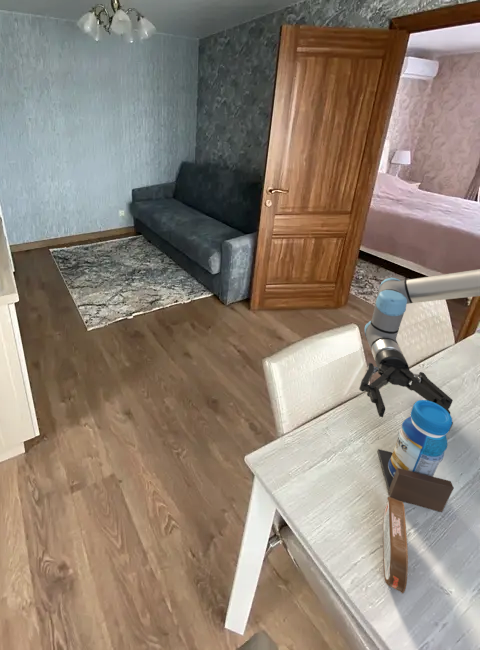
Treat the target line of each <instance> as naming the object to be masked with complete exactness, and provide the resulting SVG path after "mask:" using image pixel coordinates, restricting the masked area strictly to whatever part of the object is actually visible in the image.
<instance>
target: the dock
mask: <svg viewBox="0 0 480 650" xmlns="http://www.w3.org/2000/svg"><path fill="white" fill-rule="evenodd" d="M376 453H377V456H378V460H379V463H380V467H381V471H382V475H383V478H384V482H385V486H386V490H387V493H388V497H391V498H394V499H396V500H399V501H402V502H403V503H406V504H409V505H412V506H413V505H414V506H417V507H421V508H424V509H427V510H430V511H431V510H432V511H435V512H439V513H443V511H444V509H445V508H446V505H447V503H448V501H449V498H450V496H451V495H452V493H453V491H454V486H453V483H452V481H451V480H447V479H444V478H440V477H436V476H433V477H432V476H428V475H424V474H420V473H416V472H412V471H408V470H404V469H400V468H397V469H396V472H395V475H394V477H392V475H391V473H390V471H389V468H388V463H389V460H390V458H391V456H392V453H393V451H387V450H383V449H379V448H378V449H377V451H376Z"/></svg>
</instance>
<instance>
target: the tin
mask: <svg viewBox="0 0 480 650" xmlns="http://www.w3.org/2000/svg"><path fill="white" fill-rule="evenodd" d="M404 503H405V502H402V501H399V500H396V499H394V498H391V497H389V496H387V497H386V504H385V506H384V509H383V517H382V559H383V562H382V563H383V577H384V582H385V584H386V585H387V586H389V587H390V588H392V589H394V590H396V591H398V592H400V593H401V594H404V593H405V592H406V588H407V583H408V576H409V575H408V573H409V548H408V536H407V535H408V534H407V524H406V523H407V522H406V510H405V508H406V507H405V504H404Z"/></svg>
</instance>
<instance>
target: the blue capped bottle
mask: <svg viewBox="0 0 480 650" xmlns="http://www.w3.org/2000/svg"><path fill="white" fill-rule="evenodd" d="M452 422H453V418H452V414H451V413H450V414H449V413H448V411H447V410H445V409H444V408H443V407H442V406H440V405H438V404H436V403H434V402H431V401H428V400H426V399H419V400H416V401H415V402H414V403H413V405H412V408H411V411H410V416H408V417H407V418H406V419H404V420H403V422H402V424H401V427H400V429H399V430H398V432H397V440H396V442H395V445H394V448H393V451H392V456H391V458H390V460H389V463H388V468H389V471H390V473H391V475H392V477H394V475H395V472H396V469H397V468H400V469H404V470H408V471H412V472H416V473H420V474H424V475H428V476H432V477H434V476H435V473H436V471H437V469H438V467H439V464H440V463H441V462H442V461H443V459H444V457H445V452H446V450H447V448H448V438H447V434H448V433H449V432H450V431H449V429H450V427H451V428H452V426H453V424H452ZM451 425H452V426H451ZM450 430H451V429H450Z"/></svg>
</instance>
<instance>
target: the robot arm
mask: <svg viewBox="0 0 480 650" xmlns="http://www.w3.org/2000/svg"><path fill="white" fill-rule="evenodd" d="M472 297H480V268H478V269H472V270H471V269H470V270H464V271H458V272H451V273H443V274H438V275H431V276H424V277H417V278H410V279H403V280H401V279H399V278H395V277H387V278H385V279H384V280H382V281H381V283H380V285H379V286H378V289H377V296H376V299H375V303H374V308H373V313H372V316H371V320H369V321H368V322H367V323H366V324H365V325H364V336H365V339H366V341H367V343H368V346H369V348H370V351H371V354H372V356H373V359H374V363H375V366H374V364H373V363H372V362H368V363H367V367H366V373H364V376H363V377H362V379H361V381H360V385H359V388H358V389H359V391H360V392H367V393H366V396H367V397H369V399H370V402H371V403H372V404H375V408H376V410H377V414H378V416H379V418H384V415H385V412H386V405H385V403H384V400H383V396H382V394H381V391H380V389H381V388H382V387H384V386H386V385H388V384H389V383H390V384H391V385H394V386H400V387H404V388H407V389H408V390H409V391H413V392H415V393H416V394H417V395H419V396H420V397H422V398H423V399H424V400H428V401H431V402H434V403H436V404H438V405H440V406H442V407H443V408H444V409H445V410H447V411H448V413H449V414H450V415H451V411H450V409H451V405H452V403H453V402H454V401H453V398H451V397H450V396H449V395H448V394H447V393H445V392H444V391H443V390H442V389H441V388H440V387H439V386H437V385H436V384H435V383H434V382H433V381H431V380H430V379H429V378H428V376H427V375H426V373H424V372H422V371H420V372H419V373H413V372H412V370H410V367H409V364H408V362H407V359H406V358H405V355H404V353H403V351H402V349H401V347H400V345H399V343H398V341H397V337H398V334H399V330H400V327H401V323H402V321H403V318H404V314H405V313H406V311H407V305H409V304H416V303H417V304H418V303H426V302H435V301H436V302H437V301H443V300H444V301H445V300H453V299H463V298H464V299H465V298H472ZM376 373H377V374H378V375H379V376H378V377H377V378H376V379H375V380H373V381H372V382H371V383H370V381H371V379H372V377H373V376H374V375H376ZM369 383H370V384H369ZM453 424H454V422H453V421H452V425H451V427H450V429H449V431H448V432H450V431H451V428H452V426H453Z"/></svg>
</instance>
